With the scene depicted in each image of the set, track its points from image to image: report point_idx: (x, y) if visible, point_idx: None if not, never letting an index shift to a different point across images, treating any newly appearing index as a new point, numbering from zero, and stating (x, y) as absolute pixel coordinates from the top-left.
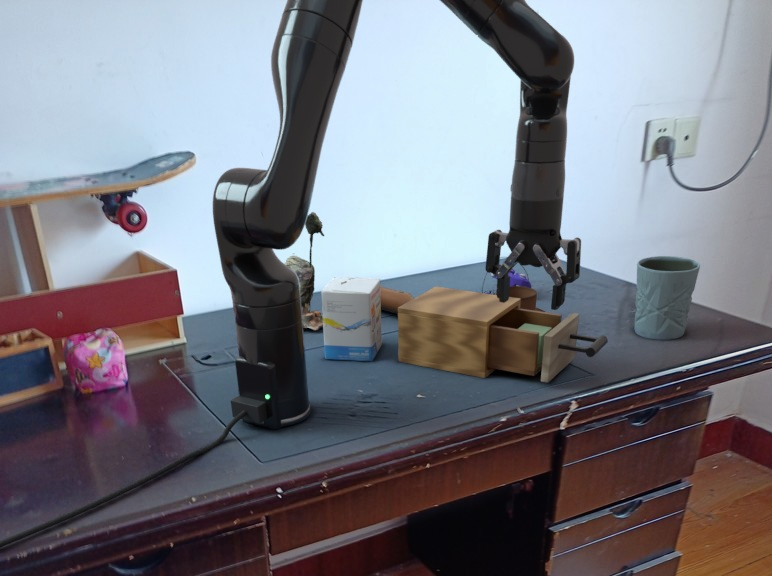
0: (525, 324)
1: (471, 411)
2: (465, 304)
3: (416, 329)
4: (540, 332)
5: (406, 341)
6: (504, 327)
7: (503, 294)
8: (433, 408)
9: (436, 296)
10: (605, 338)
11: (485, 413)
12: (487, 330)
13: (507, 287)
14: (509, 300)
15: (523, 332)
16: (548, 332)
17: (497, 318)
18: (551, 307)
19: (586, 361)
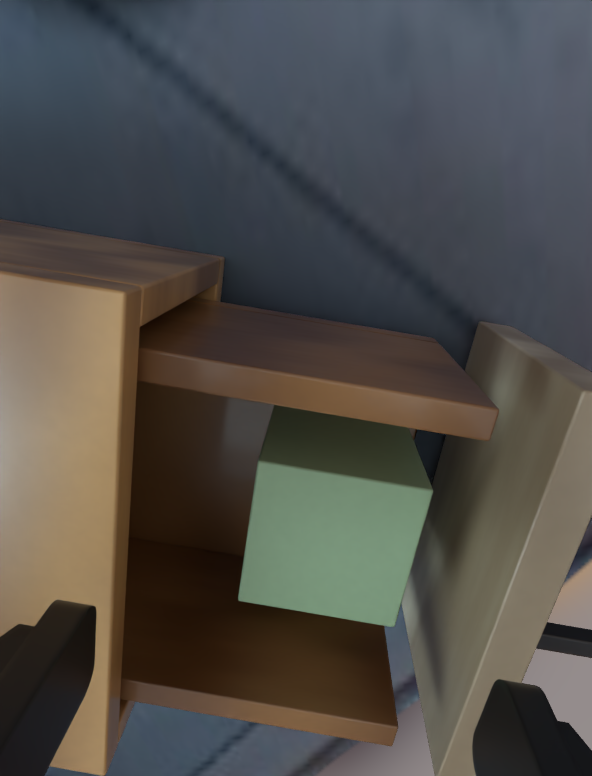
0: (267, 483)
1: (239, 757)
2: None
3: None
4: (380, 581)
5: None
6: (197, 697)
7: (57, 746)
8: (137, 760)
9: None
10: None
11: (279, 759)
12: (126, 719)
13: (34, 732)
14: (59, 375)
15: (314, 730)
16: (451, 744)
17: (119, 648)
18: (477, 767)
19: (559, 278)
